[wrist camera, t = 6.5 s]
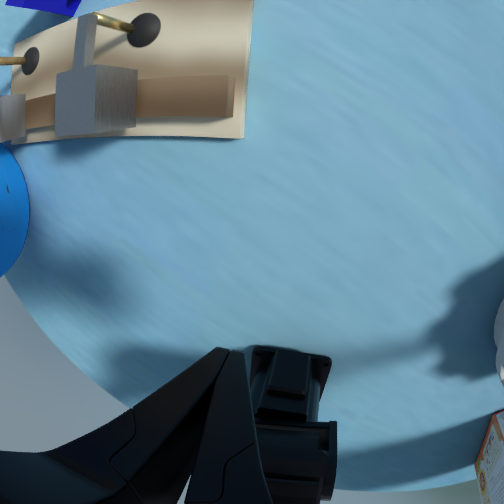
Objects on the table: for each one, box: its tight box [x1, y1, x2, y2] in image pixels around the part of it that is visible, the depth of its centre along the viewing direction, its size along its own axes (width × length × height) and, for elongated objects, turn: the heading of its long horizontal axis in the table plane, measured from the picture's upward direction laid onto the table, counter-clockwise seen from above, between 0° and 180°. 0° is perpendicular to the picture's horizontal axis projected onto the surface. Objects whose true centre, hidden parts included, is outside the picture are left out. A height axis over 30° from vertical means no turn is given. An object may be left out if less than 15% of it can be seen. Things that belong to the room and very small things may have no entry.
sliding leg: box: [55, 12, 138, 137], centre depth 14 cm, size 7×3×5 cm, turn 176°
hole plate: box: [0, 0, 254, 145], centre depth 15 cm, size 10×22×8 cm, turn 86°
